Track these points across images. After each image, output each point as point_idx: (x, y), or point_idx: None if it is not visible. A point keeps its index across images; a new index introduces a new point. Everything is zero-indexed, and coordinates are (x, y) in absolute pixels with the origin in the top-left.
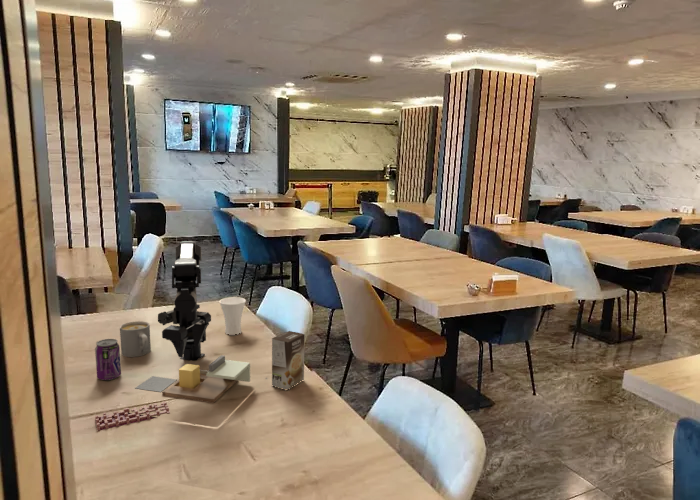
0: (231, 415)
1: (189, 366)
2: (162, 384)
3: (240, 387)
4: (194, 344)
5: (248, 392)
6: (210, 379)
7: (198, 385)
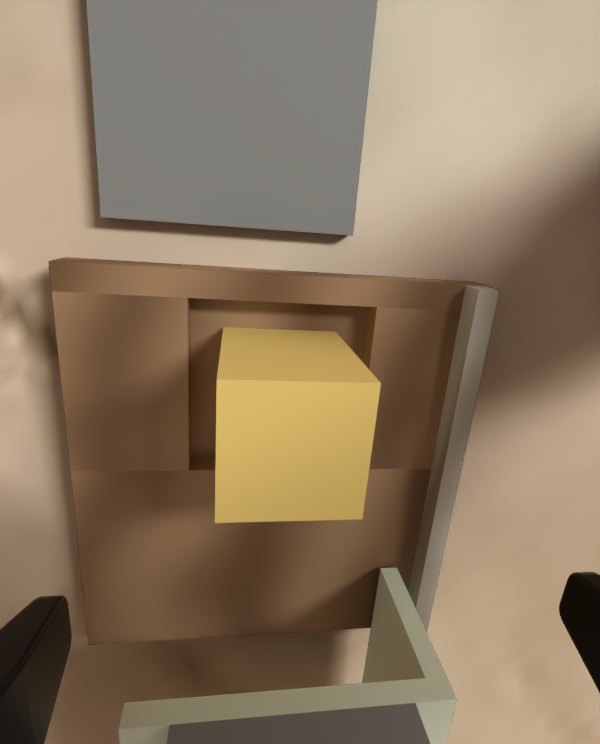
0: None
1: (320, 444)
2: (233, 154)
3: (338, 640)
4: (592, 589)
5: None
6: None
7: None
